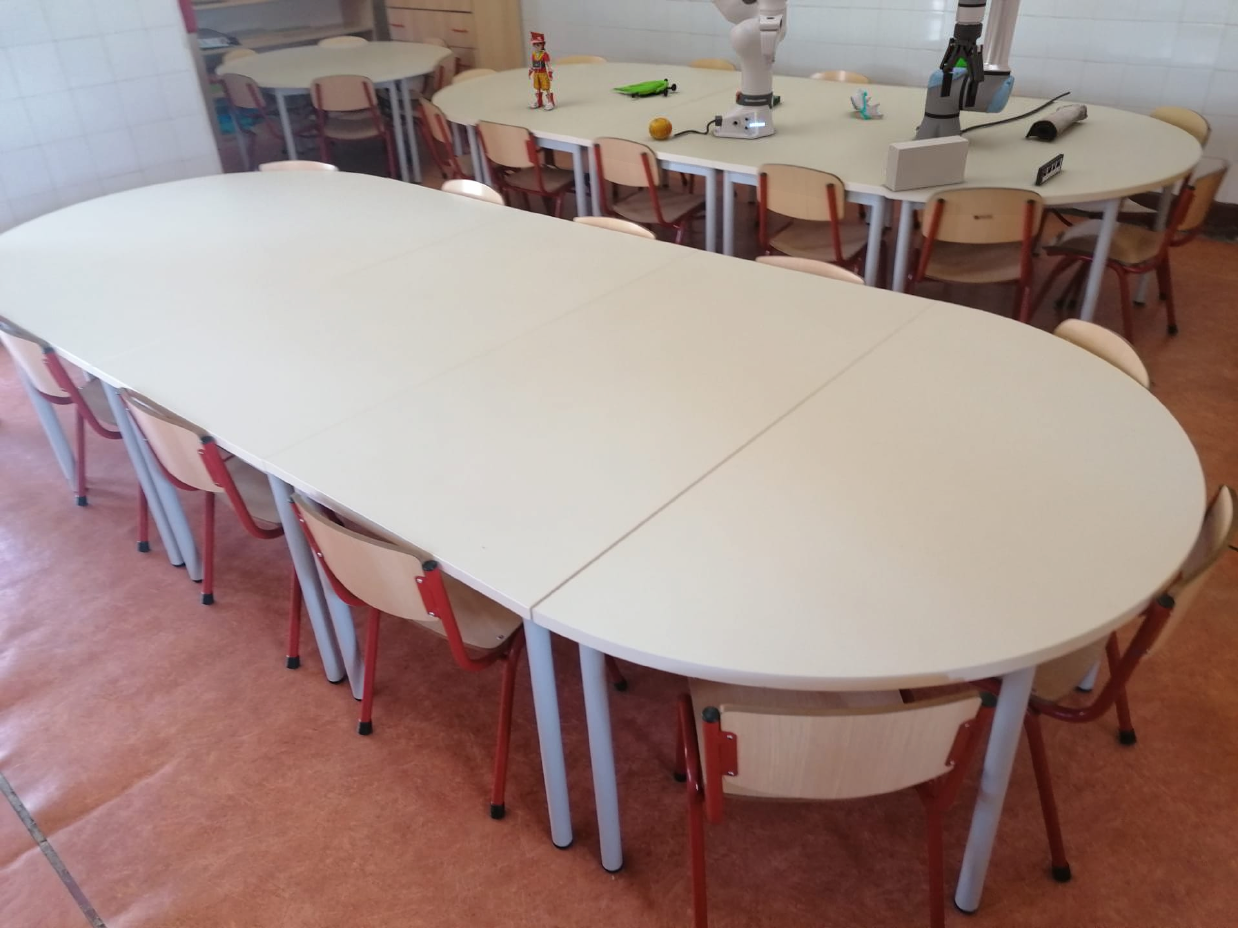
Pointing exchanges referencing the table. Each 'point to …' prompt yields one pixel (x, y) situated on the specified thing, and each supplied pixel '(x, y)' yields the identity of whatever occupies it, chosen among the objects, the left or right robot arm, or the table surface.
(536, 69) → the toy
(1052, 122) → the rolled mat
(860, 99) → the anatomical model
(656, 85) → the toy
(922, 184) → the box
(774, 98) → the disk drive
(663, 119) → the fruit
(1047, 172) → the midi keyboard
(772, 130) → the left robot arm
